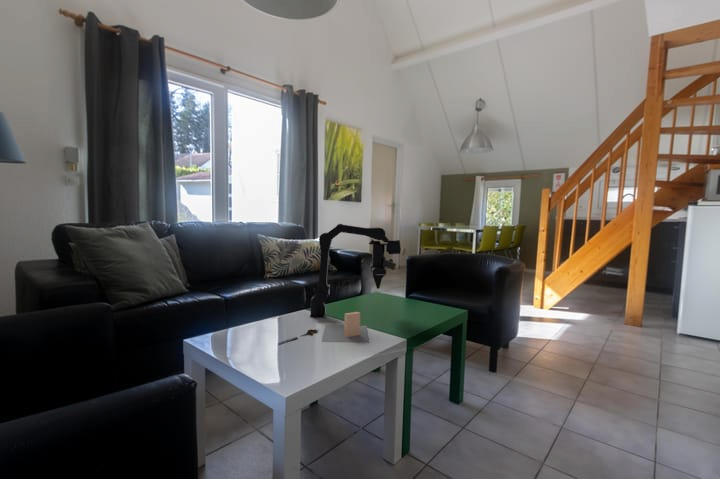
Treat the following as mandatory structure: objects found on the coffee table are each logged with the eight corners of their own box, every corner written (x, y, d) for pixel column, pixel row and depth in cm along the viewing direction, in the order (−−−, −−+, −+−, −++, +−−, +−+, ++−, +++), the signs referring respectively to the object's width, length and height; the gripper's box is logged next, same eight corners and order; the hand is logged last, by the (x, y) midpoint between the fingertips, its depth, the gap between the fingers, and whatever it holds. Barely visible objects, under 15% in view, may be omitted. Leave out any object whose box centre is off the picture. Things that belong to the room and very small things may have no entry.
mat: (321, 343, 132) (321, 341, 132) (325, 326, 152) (325, 324, 152) (369, 343, 132) (369, 342, 132) (366, 327, 152) (366, 325, 152)
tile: (344, 335, 139) (344, 313, 138) (356, 333, 142) (357, 311, 141) (346, 337, 137) (347, 314, 137) (359, 335, 140) (360, 312, 140)
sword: (270, 350, 125) (270, 344, 124) (264, 348, 127) (264, 342, 127) (322, 333, 143) (322, 328, 143) (316, 331, 145) (316, 326, 145)
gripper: (397, 256, 157) (396, 291, 158) (393, 252, 176) (392, 283, 177) (373, 256, 157) (372, 290, 158) (370, 251, 176) (370, 282, 177)
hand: (377, 286), depth 167 cm, fingers open, 9 cm apart
